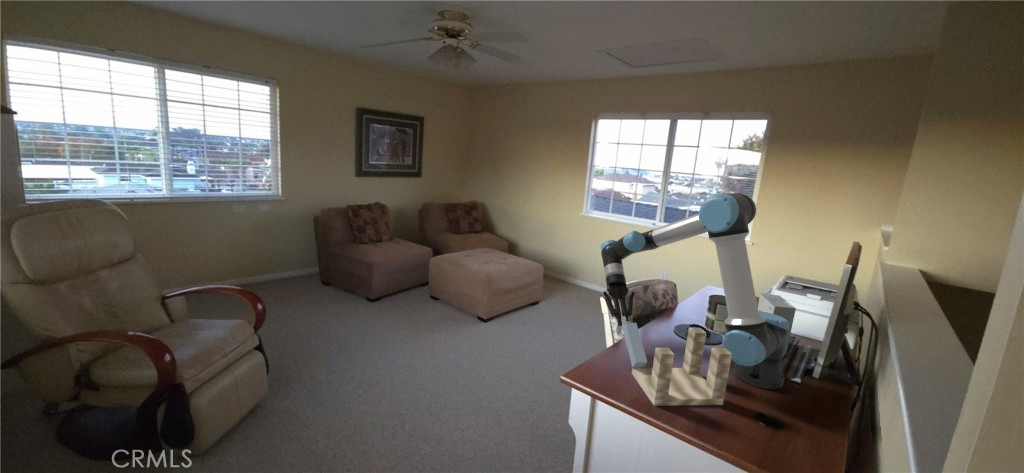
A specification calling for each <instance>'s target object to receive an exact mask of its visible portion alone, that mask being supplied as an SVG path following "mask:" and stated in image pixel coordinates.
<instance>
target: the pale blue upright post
mask: <svg viewBox="0 0 1024 473" xmlns="http://www.w3.org/2000/svg"><path fill="white" fill-rule="evenodd" d="M622 329H623V333H624V340H625V344H626V349H627V352H628V354H629V355H628V356H629V360H630V363H631V369H632V368H645V366H646V365H647V363H648V360H647V359H648V358H647V355H646V353H645V349H644V346H643V342H642V338H641V334H640V330H639V328H638V323H637V322H634V321H633V320H628V321H627V322H625V323H624V327H623V328H622Z"/></svg>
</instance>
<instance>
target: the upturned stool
mask: <svg viewBox="0 0 1024 473" xmlns="http://www.w3.org/2000/svg"><path fill="white" fill-rule="evenodd" d="M706 338H707V332H706V331H705V330H704V329H702V328H701V327H688V331H687V339H686V344H685V351H684V358H683V364H682V367H673V366H674V358H675V353H674V352H673V351H672V350H671V349H670V348H669V347H655V349H654V356H653V365H652V367H634V368H632V367H631V375H632V376H633V378H634V379H635V380H636V382H637V383H638V384H639V386H640V387H641V389H642V391H643V392H644V394H645V395H646V396H647V398H648V399H649V401H650V402H651V404H652V405H653V406H654V407H657V406H659V407H660V406H661V407H662V406H717V405H718V406H723V405H724V400H725V395H726V391H727V390H726V389H727V385H728V380H729V373H730V368H731V363H732V359H731V358H732V354H731V353H730V352H729V351H728V350H727V349H725V348H723V347H712V348H711V351H710V357H709V363H708V369H707V375H706V379H705V378H704V377H703V376H702V374H701V369H702V363H703V362H702V361H703V356H704V350H705V345H706Z"/></svg>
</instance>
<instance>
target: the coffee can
mask: <svg viewBox="0 0 1024 473" xmlns="http://www.w3.org/2000/svg"><path fill="white" fill-rule="evenodd" d="M728 316H729V315H728V310H727V305H726V299H725V295H722V294H711V295H709V296H708V302H707V308H706V314H705V320H704V329H705V328H706V329H705V330H707V329H708V330H709V332H710V331H711V333H714V334H717V335H725V334H726V328H725V320H726V319H727V318H728ZM708 330H707V331H708Z"/></svg>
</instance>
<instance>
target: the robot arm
mask: <svg viewBox="0 0 1024 473" xmlns="http://www.w3.org/2000/svg"><path fill="white" fill-rule="evenodd" d="M756 215H757V206H756V204H755V201H754V200H753V199H752V198H751V197H750V196H748V195H747V194H744V193H741V192H740V193H739V192H737V193H736V192H733V193H719V194H717V195H712V196H710V197H708V198H707V199H705V201H704V202H703V203H702V204H701V206H700V207H699V210H698V213H696V214H694V215H690V216H687V217H684V218H682V219H679V220H676V221H673V222H670V223H667V224H665V225H662V226H660V227H657V228H656V227H655V228H654V229H651V230H648V231H644V232H640V231H638V230H632V231H630V232H628V233H626V234H625V235H624V236H622V237H621V238H620V239H618V240H615V239H609V240H607V241H604V242H602V243H601V244H600V253H601V258H602V264H603V269H604V270H603V271H604V277H605V283H606V290H605V291H603V292H602V293H601V297H602V298H603V300H604V301H605V304H606V306H607V308H608V310H609V313H610V316H611V317H612V318H615V319H616V321H617V325H618V327H620V331H621V336H624V333H623V329H622V328H623V327H624V323H625V322H627V321H629V318H630V317H631V316H632V315H633V308H634V306H633V305H634V304H633V303H634V296H635V292H634V291H630V290H629V287H628V286H627V281H626V277H625V270H624V266H623V260H625V259H626V258H628V257H629V256H631V255H633V254H638V253H641V252H647V251H652V250H656V249H658V248H660V247H663V246H667V245H671V244H673V243H676V242H680V241H683V240H686V239H690V238H693V237H696V236H699V235H703V234H706V233H707V235H708V239H709V240H710V241H712V242H713V243H714V244H715V245H714V246H715V248H716V254H717V255H716V256H717V260H718V266H719V270H720V271H719V272H720V276H721V282H722V287H723V292H724V296H725V299H726V305H727V310H728V315H729V316H728V318H727V319H726V320H725V328H726V334H724V336H723V338H722V340H721V345H722V348H725V349H727V350H728V351H729V352H730V353H731V354H732V358H731V361H733V362H734V365H733V374H734V375H735V376H736V377H737V378H738V379H739V380H741V381H742V382H744V383H745V384H748V385H751V386H752V387H753V386H754V387H756V388H759V389H764V390H779V389H781V388H782V387H783V386H784V383H785V382H784V381H785V374H784V369H783V362H782V361H783V358H784V356H783V353H784V348H785V344H786V339H787V334H788V331H789V322H788V321H787V320H786V319H784V318H783V317H780V316H778V315H775V314H771V313H767V312H762V311H758V303H757V297H756V292H755V286H754V281H753V276H752V270H751V265H750V259H749V254H748V249H747V245H746V238H747V236H748V235H749V233H750V230H749V225H750V223H752V221H754V219H755V217H756ZM626 296H627V302H626Z"/></svg>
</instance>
